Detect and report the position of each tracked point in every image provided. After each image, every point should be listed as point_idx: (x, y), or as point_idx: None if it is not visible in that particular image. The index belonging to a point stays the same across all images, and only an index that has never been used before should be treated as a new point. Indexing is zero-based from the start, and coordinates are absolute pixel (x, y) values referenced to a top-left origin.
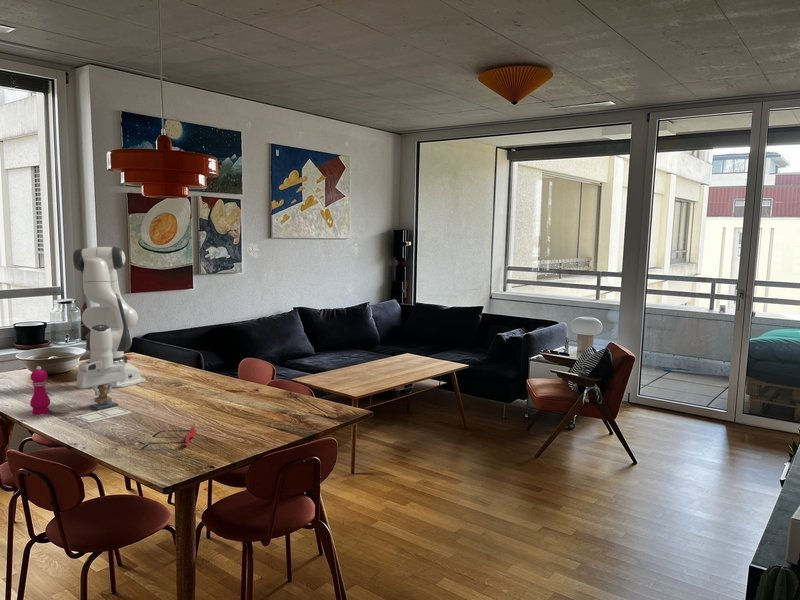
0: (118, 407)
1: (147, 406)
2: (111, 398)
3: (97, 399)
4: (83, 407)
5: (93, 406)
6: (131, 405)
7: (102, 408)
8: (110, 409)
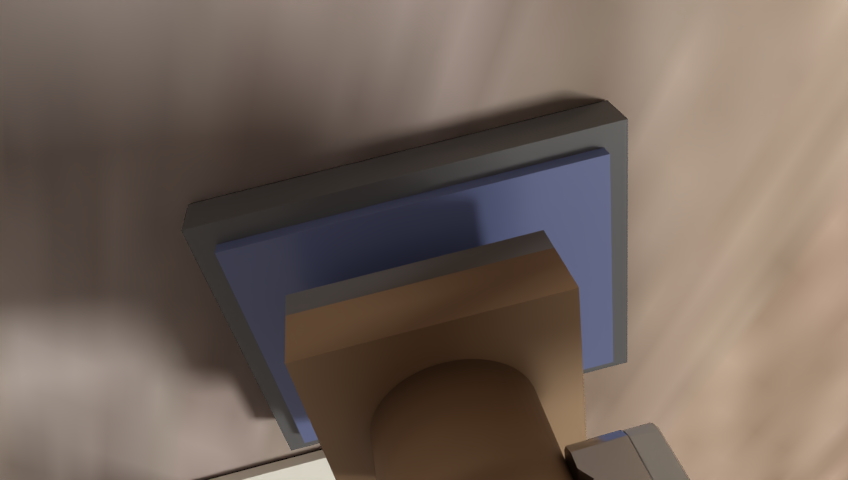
0: None
1: (815, 475)
2: None
3: (326, 446)
4: (64, 118)
5: (247, 333)
6: (742, 379)
7: None
8: None
